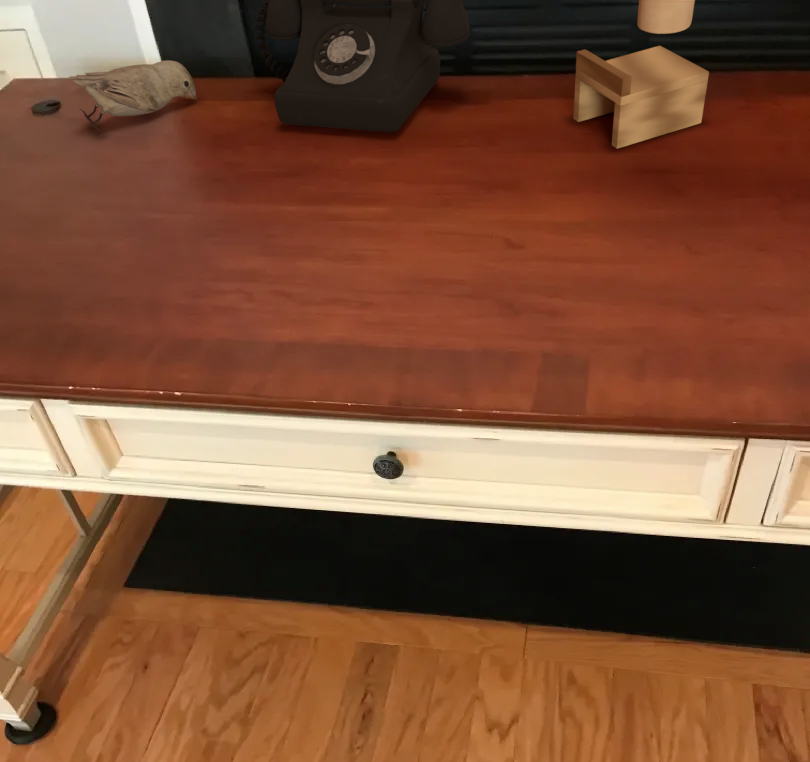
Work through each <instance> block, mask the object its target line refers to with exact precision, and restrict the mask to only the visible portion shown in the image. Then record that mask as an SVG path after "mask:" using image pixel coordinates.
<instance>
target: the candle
mask: <svg viewBox="0 0 810 762" xmlns="http://www.w3.org/2000/svg"><path fill="white" fill-rule="evenodd" d="M695 3H696V0H638V8H637V19H636V21H637V28H639V30H641V31H644V32H646V33H650V34H657V35H661V34H662V35H666V34H675V33H679V32H682V31H685V30H688V29H689V28H690V26H691V24H692V21H693V15H694V9H695Z"/></svg>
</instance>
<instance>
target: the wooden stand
mask: <svg viewBox="0 0 810 762" xmlns="http://www.w3.org/2000/svg"><path fill="white" fill-rule="evenodd" d="M709 76H710V71H708V70H707V69H705V68H703V67H701V66H700V65H698V64H696V63H693V62H691V61H690V60H689V59H687V58H684V57H682V56H680V55H679V54H677V53H674V52H673V51H671V50H670V49H667V48H666V47H663V46H662V45H657V46H654V47H650V48H646V49H643V50H642V49H641V50H639V51H635V52H632V53H629V54H625V55H621V56H618V57H614V58H610V59H607V60H605V59H602V58H601V57H599V56H597V55H596V54H594V53H592V52H591V51H589V50H587V49H581V50H578V51H576V60H575V78H574V99H573V118H572V119H573V120H574V121H576V122H577V123H580V122H583V121H584V122H585V121H588V120H590V119H593V118H597V117H601V116H604V115H607V114H610V113H613V122H612V134H611V135H612V136H611V146H612V147H613V148H615V149H622V148H625V147H628V146H630V145H634V144H637V143H641V142H644V141H647V140H651V139H653V138H656V137H660V136H663V135H666V134H669V133H673V132H676V131H680V130H683V129H687V128H689V127H694V126H696V125H699V124H702V120H703V115H704V107H705V103H706V102H705V100H706V95H707V89H708V82H709Z"/></svg>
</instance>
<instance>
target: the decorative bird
mask: <svg viewBox="0 0 810 762" xmlns="http://www.w3.org/2000/svg"><path fill="white" fill-rule="evenodd" d="M68 78H69V79H70V80H72V82H73V83H75V84H76V85H78V86H79V85H80V86H84V90H85V92H87V94H88V95H89V96H90V97H91V99H93V100H94V102H95V104H94V108H93V111H92V112H90V113H89V114H87V113H86V112H85V110H83V109H81V108H79V110H80V111H81V112H82V113H83V116H84V117H85V118H86V120H87V121H88V122H89V124H90V125H91V126H92V128H94V129H95V130H97V131H98V133H99V135H101V131H100V129H99V127H98V126H97V125H96V124H97V123H99V122H100V121H101V119H102V117H103V115H104V114H105V113H107V114H109V115H111V116H112V117H113V116H114V117H134V116H140V115H148V114H152V113H155V112H157V111H159V110H161V109H163V108H164V107H166V106H167V104H169V103H170V101H172V99H173V98H178V97H180V98H186V99H188V100H192V101H195V102H196V101H197V91H196V84H195V81H194V79H193V77H192V75H191V74H190V72H189V71H188V70H187V68H186V67H185V66H184V65H183V64H182V63H180V62H178V61H176V60H167V59H166V60H161V61H157V62H155V63H153V64H152V63H151V64H150V63H148V64H147V63H146V64H134V65H128V66H122V67H117V68H115V69H111V70H109V71H96V72H85V74H76V75H73V76H72V75H71V76H70V75H69V76H68ZM98 107H99V108H101V110H100V113H99V116H98V118H97V119H96V120H95V121H93V120H92V119H91V117H92V116H93V115H95V113H96V112H97V109H98Z"/></svg>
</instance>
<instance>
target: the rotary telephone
mask: <svg viewBox="0 0 810 762" xmlns="http://www.w3.org/2000/svg"><path fill="white" fill-rule="evenodd" d="M424 3H425V4H426V7H425V11H424V5H425V4H424ZM260 5H261V7H258V8H257V14H258V15H257V16H255V18H254V20H255V22H258V23H261V24H259V25H258V24H256V25H254V26H253V27H254V30H255V31H261V32H260V33H256V34H254V39H255V40H261V41H259V42H258V43H257V44H256V48H257V49H259V50H261V51H260V53H259V55H260V57H261V58H262V59H265V60H264V65H265V66H266V67H269V71H270V73H271V74H275V77H276V78H277V79H278V80H282V82H283V83H282V84H281V85H280V86H278V88H277V89H276V91H275V92H274V95H273V96H274V107H275V110H276V114H277V116H278V120H279V121H280V122H281V123H282V124H283V125H290V126H291V125H292V126H303V127H316V128H329V129H345V130H357V131H370V132H384V133H395V132H397V131H399V130H400V129H401V128H402V126H403V125H404V124H405V123H406V121H407V120H409V117H410V116H411V115H412V114H413V112H414V111H415V110H416V109H417V108H418V106H419V105H420V104H421V102H422V101H423V100H424V98H425V97H426V96H427V94H428V93H429V92H430V91H431V89H433V87H434V86H435V85H436V83H437V82H438V81H439V78H440V76H441V59H440V52H439V50H438V49H437V48H448V47H452V46H457V45H460V44H462V43H463V42H465V41H466V40H467V39H468V38H469V37H470V34H471V31H470V29H471V27H470V22H469V17H468V15H467V11H466V9H465V7H464V5H463V2H462V0H268V1H265V0H263V1H262V2H261V3H260ZM351 5H352V6H351ZM353 5H354V6H353ZM379 6H381V7H379ZM382 6H384V7H382ZM385 6H389V7H385ZM390 6H391V7H390ZM265 26H266V28H264V27H265ZM266 31H267V32H266ZM266 33H267V36H268V37H269V38H270V39H273V40H276V41H289V40H295V39H299V42H298V46H297V52H296V56H295V57H294V61H293V65H292V67H291V68H290V70H289V72H288V70H285V71H283V72H282V70H283V66H281V65H279V66H278V67H277V68H275V67H276V65H278V61H277V60H271V59H272V58H273V56H274V55H273V54H272V53H271V52H269V50H270V47H269V45H268V44H266V42H267V37H266V36H265V35H266ZM281 72H282V74H280V73H281Z"/></svg>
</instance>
